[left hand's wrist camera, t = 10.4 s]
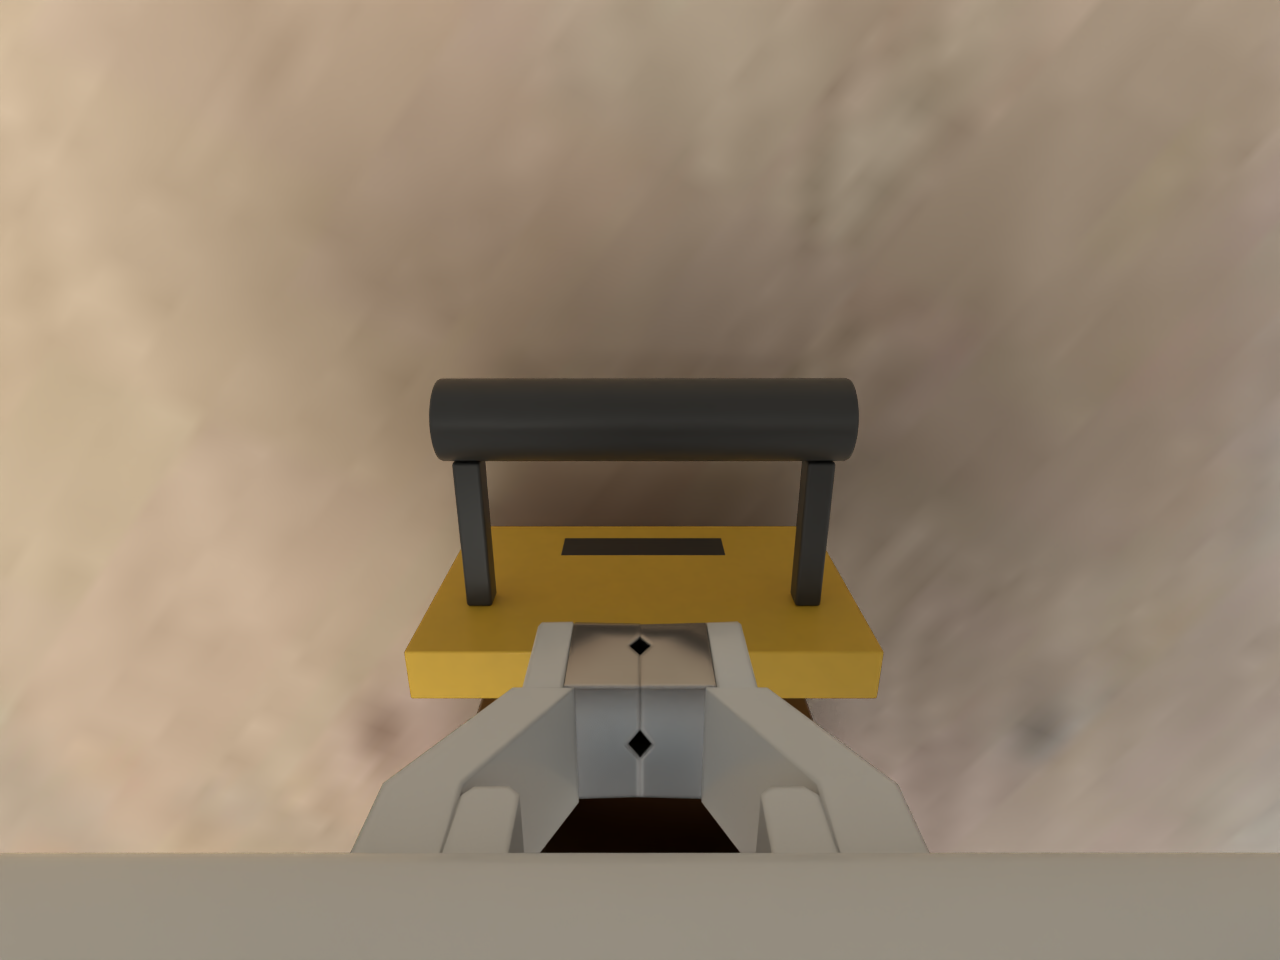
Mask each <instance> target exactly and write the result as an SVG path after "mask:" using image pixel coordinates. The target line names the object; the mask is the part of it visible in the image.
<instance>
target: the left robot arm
mask: <svg viewBox="0 0 1280 960" xmlns="http://www.w3.org/2000/svg"><path fill="white" fill-rule="evenodd" d="M627 797H651V798H687V799H701V802H702V803H703V805H704V806H705V807H706V809H707V810H708V811H709V812H710V814H711V815H712V816H713V818H714V819H715V820H716V822H717V823H718V824H719V826H720V827H721V828H722V829H723V831H724V832H725V833H726V835H727V836H728V837H729V839H730V840H731V841H732V843H733V844H734V845H735V846H736V848H737V849H738V850H739V852H740V853H540V852H541V851H542V850H543V848H544V847H545V846H546V844H547V843H548V842H549V840H550V839H551V838H552V837H553V835H554V834H555V833H556V831H557V830H558V829H559V827H560V826H561V825H562V824H563V822H564V821H565V820H566V818H567V817H568V816H569V814H570V813H571V812H572V811H573V809H574V808H575V807H576V805H577V804H578V803H579V799H593V798H627ZM0 960H1280V853H929V850H928V848H927V846H926V844H925V842H924V840H923V838H922V835H921V833H920V831H919V829H918V827H917V825H916V822H915V820H914V818H913V816H912V814H911V812H910V810H909V807H908V805H907V803H906V801H905V799H904V797H903V794H902V792H901V790H900V788H899V786H898V784H897V783H895V782H894V781H893V780H891V779H890V778H889V777H887V776H886V775H884V774H883V773H882V772H880V771H879V770H878V769H876V768H875V767H874V766H872V765H871V764H870V763H868V762H867V761H866V760H864V759H863V758H862V757H860V756H859V755H858V754H856V753H855V752H854V751H852V750H851V749H849V748H848V747H847V746H845V745H844V744H843V743H841V742H840V741H839V740H837V739H836V738H835V737H833V736H832V735H831V734H829V733H828V732H827V731H825V730H824V729H823V728H821V727H820V726H819V725H817V724H816V723H814V722H813V721H812V720H810V719H809V718H808V717H806V716H805V715H804V714H802V713H801V712H800V711H798V710H797V709H796V708H794V707H793V706H792V705H790V704H789V703H788V702H786V701H785V700H783V699H782V698H781V697H779V696H778V695H777V694H775V693H774V692H773V691H771V690H770V689H769V688H766V687H757V683H756V679H755V675H754V672H753V668H752V664H751V660H750V656H749V653H748V649H747V645H746V641H745V637H744V634H743V630H742V626H741V624H740V623H739V622H738V621H735V622H710V623H675V624H640V623H594V622H575V624H574V623H573V622H542V623H541V624H540V625H539V626H538V629H537V633H536V637H535V641H534V644H533V648H532V652H531V656H530V660H529V664H528V668H527V671H526V675H525V679H524V683H523V687H514V688H511V689H510V690H509V691H507V692H506V693H505V694H503V695H502V696H501V697H499V698H498V699H496V700H495V701H494V702H492V703H491V704H490V705H488V706H487V707H486V708H484V709H483V710H482V711H480V712H479V713H478V714H476V715H475V716H473V717H472V718H471V719H469V720H468V721H467V722H465V723H464V724H463V725H461V726H460V727H459V728H457V729H456V730H455V731H453V732H452V733H450V734H449V735H448V736H446V737H445V738H444V739H442V740H441V741H440V742H438V743H437V744H436V745H434V746H433V747H432V748H430V749H429V750H427V751H426V752H425V753H423V754H422V755H421V756H419V757H418V758H417V759H415V760H414V761H413V762H411V763H410V764H409V765H407V766H406V767H404V768H403V769H402V770H400V771H399V772H398V773H396V774H395V775H394V776H392V777H391V778H390V779H388V780H387V781H386V782H384V783H383V785H382V787H381V789H380V791H379V793H378V795H377V797H376V799H375V802H374V804H373V806H372V808H371V810H370V812H369V814H368V816H367V819H366V821H365V823H364V825H363V827H362V829H361V831H360V833H359V836H358V838H357V840H356V842H355V844H354V846H353V848H352V850H351V853H0Z"/></svg>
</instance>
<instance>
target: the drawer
mask: <svg viewBox="0 0 1280 960" xmlns="http://www.w3.org/2000/svg"><path fill="white" fill-rule="evenodd" d="M858 423H859V409H858V400H857V394H856V390H855V387H854V385H853V383H852V382H851V381H850V380H849V379H846V378H681V379H439V380H438V381H437V382H436V383H435V385H434V387H433V390H432V394H431V399H430V408H429V424H430V434H431V440H432V444H433V448H434V451H435V453H436V455H437V457H438V458H439V459H440V460H443V461H454V463H453V465H452V467H453V477H454V486H455V495H456V505H457V514H458V524H459V533H460V543H461V550H460V552H459V554H458V555H457V557H456V559H455V561H454V563H453V565H452V566H451V568H450V570H449V572H448V574H447V575H446V577H445V579H444V581H443V583H442V585H441V586H440V588H439V590H438V592H437V594H436V595H435V597H434V599H433V601H432V603H431V605H430V606H429V608H428V610H427V612H426V614H425V615H424V617H423V619H422V621H421V623H420V625H419V626H418V628H417V630H416V632H415V634H414V635H413V637H412V639H411V641H410V643H409V645H408V646H407V648H406V650H405V652H404V653H405V660H406V667H407V674H408V680H409V687H410V694H411V698H482V700H481V703H480V706H479V709H478V712H477V714H478V713H479V712H480V711H482V710H483V709H484V708H486V707H487V706H488V705H490V704H491V703H492V702H494V701H495V700H496V699H498V698H499V697H501V696H502V695H503V694H505V693H506V692H507V691H509V690H510V689H511V688H514V687H523V683H524V679H525V675H526V671H527V668H528V664H529V660H530V656H531V652H532V648H533V644H534V641H535V637H536V633H537V629H538V626H539V625H540V624H541V623H542V622H573V623H574V624H575V622H594V623H640V624H675V623H710V622H735V621H738V622H739V623H740V624H741V626H742V630H743V634H744V637H745V641H746V645H747V649H748V653H749V656H750V660H751V664H752V668H753V672H754V675H755V679H756V683H757V687H766V688H769V689H770V690H771V691H773V692H774V693H775V694H777V695H778V696H779V697H781V698H782V699H783V700H785V701H786V702H788V703H789V704H790V705H792V706H793V707H794V708H796V709H797V710H798V711H800V712H801V713H802V714H804V715H805V716H806V717H808V718H809V719H810V720H812V721H813V719H812V716H811V713H810V710H809V707H808V705H807V702H806V699H805V698H876V697H877V693H878V686H879V679H880V673H881V666H882V660H883V650H882V648H881V647H880V645H879V643H878V641H877V640H876V638H875V636H874V634H873V632H872V631H871V629H870V627H869V625H868V624H867V622H866V620H865V618H864V617H863V615H862V613H861V611H860V609H859V608H858V606H857V604H856V602H855V601H854V599H853V597H852V595H851V594H850V592H849V590H848V588H847V586H846V585H845V583H844V581H843V579H842V578H841V576H840V574H839V572H838V570H837V569H836V567H835V565H834V563H833V562H832V560H831V558H830V556H829V555H828V553H827V551H826V546H827V536H828V527H829V518H830V509H831V499H832V490H833V481H834V472H835V463H834V462H833V461H845V460H847V459H849V457H850V456H851V454H852V452H853V450H854V447H855V443H856V439H857V433H858ZM485 461H802V469H801V480H800V492H799V503H798V514H797V525H796V526H491V523H490V512H489V500H488V489H487V477H486V466H485ZM540 853H740V852H739V850H738V849H737V848H736V846H735V845H734V844H733V843H732V841H731V840H730V839H729V837H728V836H727V835H726V833H725V832H724V831H723V829H722V828H721V827H720V826H719V824H718V823H717V822H716V820H715V819H714V818H713V816H712V815H711V814H710V812H709V811H708V810H707V809H706V807H705V806H704V805H703V803H702V802H701V799H687V798H651V797H627V798H593V799H579V803H578V804H577V805H576V807H575V808H574V809H573V811H572V812H571V813H570V814H569V816H568V817H567V818H566V820H565V821H564V822H563V824H562V825H561V826H560V827H559V829H558V830H557V831H556V833H555V834H554V835H553V837H552V838H551V839H550V840H549V842H548V843H547V844H546V846H545V847H544V848H543V850H542V851H541V852H540Z"/></svg>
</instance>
